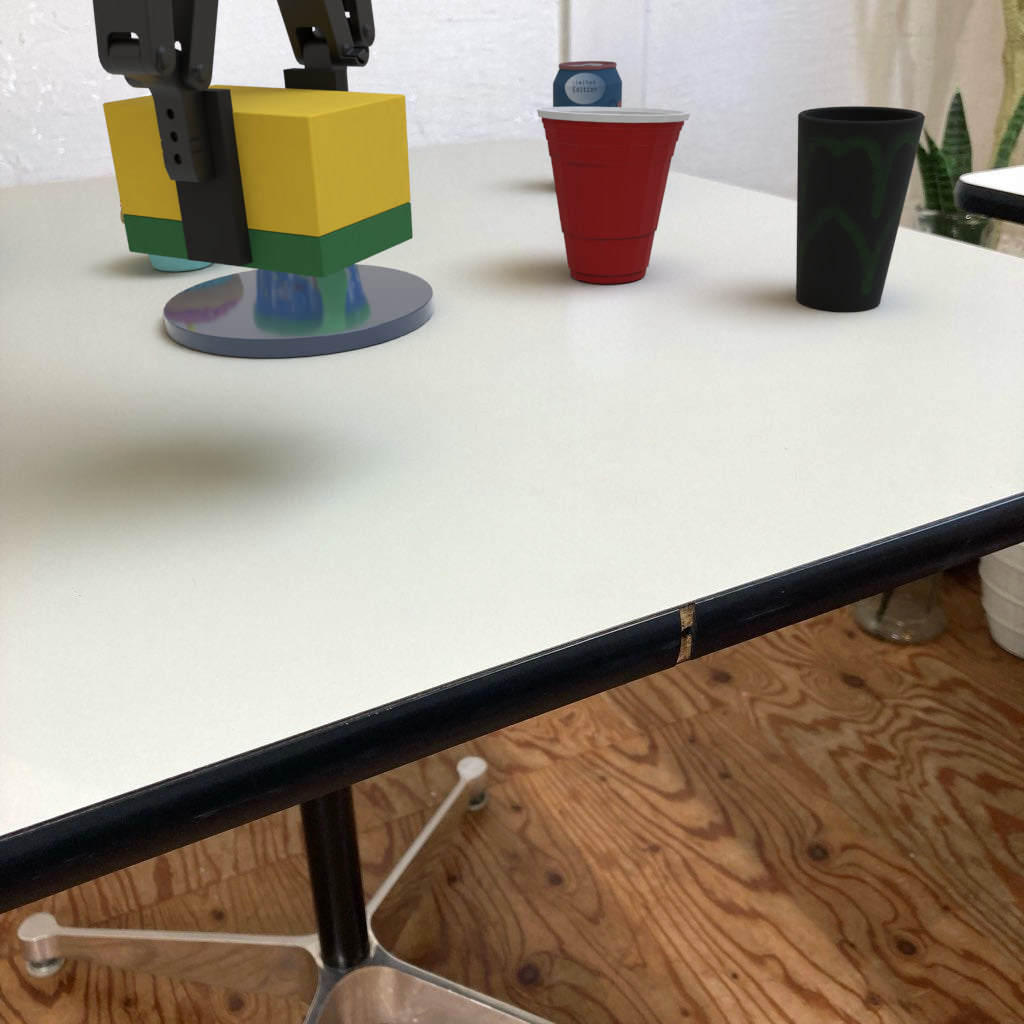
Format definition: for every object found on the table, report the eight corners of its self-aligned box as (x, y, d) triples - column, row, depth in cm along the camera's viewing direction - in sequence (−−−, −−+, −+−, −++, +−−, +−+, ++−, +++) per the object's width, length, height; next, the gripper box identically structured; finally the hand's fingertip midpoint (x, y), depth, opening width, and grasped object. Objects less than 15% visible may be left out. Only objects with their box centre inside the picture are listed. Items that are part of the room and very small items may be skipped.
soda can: (600, 196, 104) (602, 67, 99) (541, 191, 108) (539, 65, 102) (631, 184, 110) (634, 61, 104) (573, 179, 113) (573, 59, 107)
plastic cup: (705, 266, 80) (716, 99, 74) (638, 301, 72) (645, 117, 66) (584, 250, 85) (585, 93, 80) (509, 281, 77) (505, 109, 72)
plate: (106, 338, 68) (102, 320, 67) (274, 270, 82) (272, 254, 81) (340, 373, 61) (338, 353, 60) (478, 292, 75) (478, 276, 74)
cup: (763, 305, 70) (780, 118, 65) (802, 279, 76) (821, 104, 70) (877, 323, 67) (906, 124, 61) (910, 293, 72) (939, 109, 67)
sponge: (128, 252, 45) (101, 103, 42) (233, 218, 50) (215, 84, 47) (323, 278, 41) (307, 116, 38) (413, 238, 46) (405, 94, 43)
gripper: (38, -611, 25) (191, 314, 36) (439, -396, 41) (461, 201, 52) (-165, -548, 28) (33, 290, 39) (282, -370, 44) (335, 190, 55)
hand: (278, 238), depth 45 cm, fingers closed on sponge, 7 cm apart
